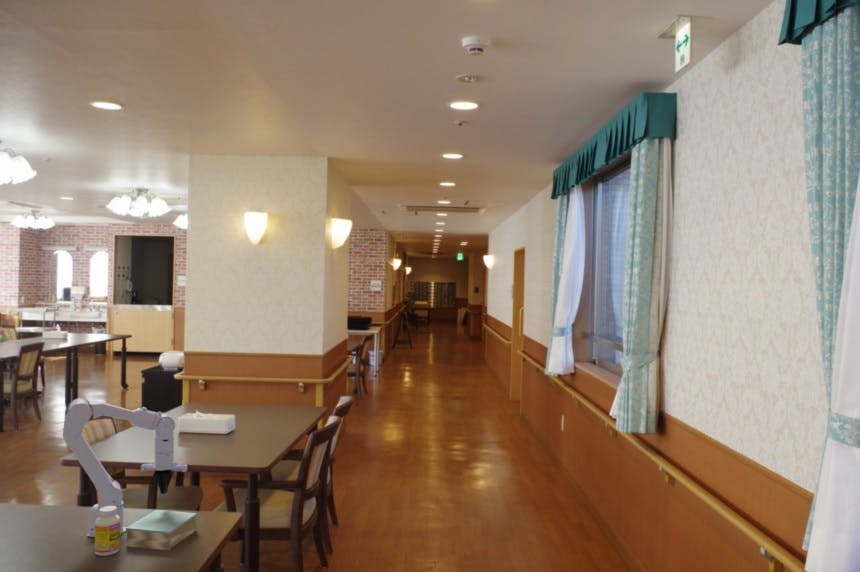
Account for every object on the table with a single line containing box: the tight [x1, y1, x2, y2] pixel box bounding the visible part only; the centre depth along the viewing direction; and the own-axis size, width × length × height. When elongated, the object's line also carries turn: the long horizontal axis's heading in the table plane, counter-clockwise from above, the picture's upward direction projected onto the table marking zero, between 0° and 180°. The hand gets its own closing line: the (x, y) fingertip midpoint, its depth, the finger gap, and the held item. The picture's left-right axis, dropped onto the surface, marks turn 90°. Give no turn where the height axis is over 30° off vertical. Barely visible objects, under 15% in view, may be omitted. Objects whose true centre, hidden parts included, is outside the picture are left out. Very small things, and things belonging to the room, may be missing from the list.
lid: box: [125, 509, 198, 534], centre depth 198 cm, size 14×15×1 cm
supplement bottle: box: [94, 506, 121, 557], centre depth 188 cm, size 7×7×13 cm
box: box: [126, 515, 197, 551], centre depth 198 cm, size 14×15×5 cm
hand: (163, 492), depth 209 cm, fingers closed
